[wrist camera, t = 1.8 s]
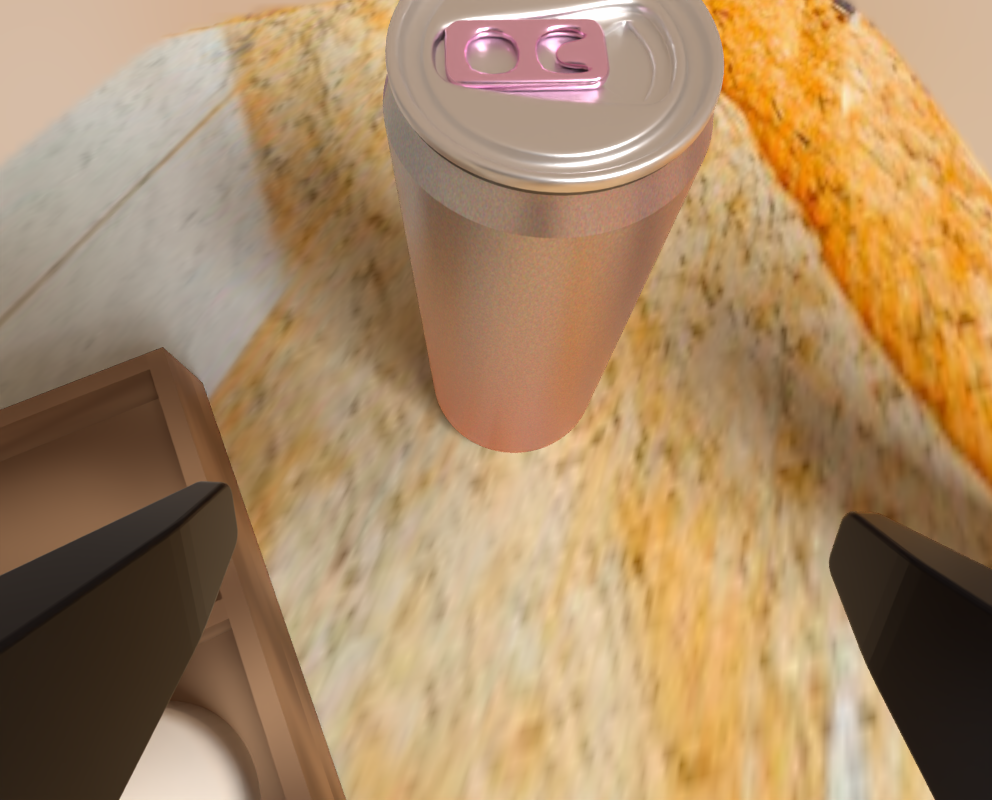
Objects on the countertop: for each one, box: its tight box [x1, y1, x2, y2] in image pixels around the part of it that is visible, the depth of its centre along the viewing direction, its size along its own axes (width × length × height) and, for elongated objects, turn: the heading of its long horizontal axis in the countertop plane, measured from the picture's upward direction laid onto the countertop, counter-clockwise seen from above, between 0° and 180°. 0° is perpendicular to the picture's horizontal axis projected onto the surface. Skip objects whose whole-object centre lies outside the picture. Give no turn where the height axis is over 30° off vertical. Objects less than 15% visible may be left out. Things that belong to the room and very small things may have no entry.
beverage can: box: [383, 0, 724, 453], centre depth 17 cm, size 6×6×15 cm
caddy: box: [0, 347, 346, 800], centre depth 19 cm, size 18×10×3 cm, turn 26°
